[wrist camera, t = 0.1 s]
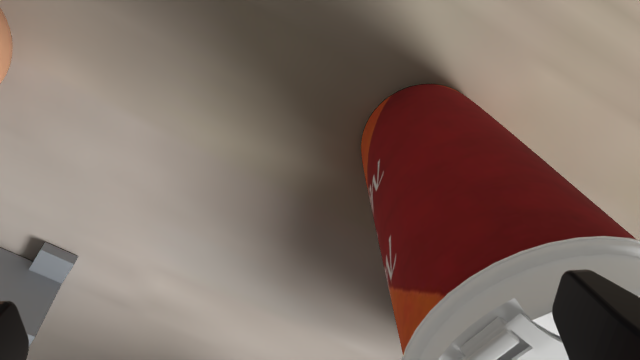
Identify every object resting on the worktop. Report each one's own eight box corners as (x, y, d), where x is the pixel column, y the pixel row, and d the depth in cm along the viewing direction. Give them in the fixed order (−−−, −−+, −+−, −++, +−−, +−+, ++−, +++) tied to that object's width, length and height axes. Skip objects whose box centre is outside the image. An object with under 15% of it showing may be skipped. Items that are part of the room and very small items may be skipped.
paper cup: (302, 154, 24) (340, 442, 12) (422, 20, 21) (631, 209, 9) (420, 239, 27) (549, 537, 15) (539, 129, 24) (812, 381, 12)
